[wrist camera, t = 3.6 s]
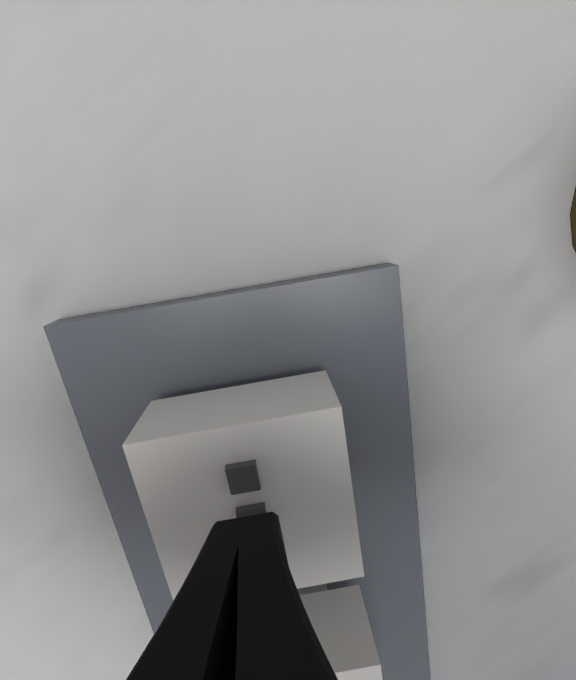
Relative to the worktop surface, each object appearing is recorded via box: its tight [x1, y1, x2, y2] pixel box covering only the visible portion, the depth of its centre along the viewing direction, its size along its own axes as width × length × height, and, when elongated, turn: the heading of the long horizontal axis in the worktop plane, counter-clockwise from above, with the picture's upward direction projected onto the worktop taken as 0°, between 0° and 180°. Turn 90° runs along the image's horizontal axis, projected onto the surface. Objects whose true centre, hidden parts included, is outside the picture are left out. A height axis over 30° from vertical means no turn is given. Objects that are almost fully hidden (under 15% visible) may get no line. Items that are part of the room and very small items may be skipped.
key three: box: [122, 370, 364, 601], centre depth 10 cm, size 5×5×2 cm
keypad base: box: [43, 263, 431, 680], centre depth 14 cm, size 24×10×2 cm, turn 9°
